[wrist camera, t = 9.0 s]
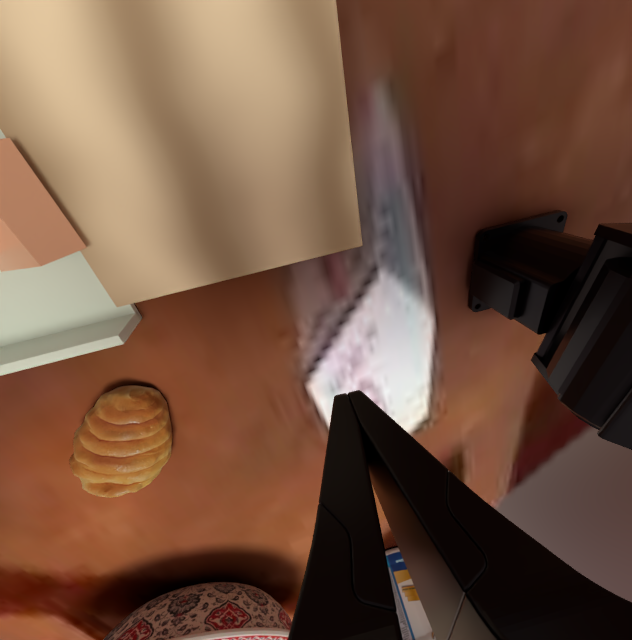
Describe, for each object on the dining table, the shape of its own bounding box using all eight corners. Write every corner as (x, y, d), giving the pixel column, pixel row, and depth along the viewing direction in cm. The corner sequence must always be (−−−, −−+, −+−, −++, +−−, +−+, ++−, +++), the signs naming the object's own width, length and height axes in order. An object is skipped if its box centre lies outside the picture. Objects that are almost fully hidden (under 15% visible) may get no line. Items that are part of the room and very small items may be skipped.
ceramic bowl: (107, 648, 44) (80, 738, 38) (60, 562, 31) (3, 678, 24) (291, 614, 51) (296, 685, 44) (319, 531, 38) (333, 615, 31)
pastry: (87, 370, 20) (55, 411, 17) (188, 385, 22) (176, 424, 19) (83, 454, 24) (56, 501, 21) (169, 460, 26) (157, 503, 23)
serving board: (314, -44, 12) (326, -87, 10) (350, 235, 18) (362, 245, 16) (-24, 22, 11) (-90, -9, 9) (133, 288, 18) (116, 307, 15)
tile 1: (9, 137, 11) (-60, 144, 10) (87, 247, 13) (41, 266, 12) (-28, 164, 13) (-90, 173, 12) (44, 254, 15) (1, 271, 14)
